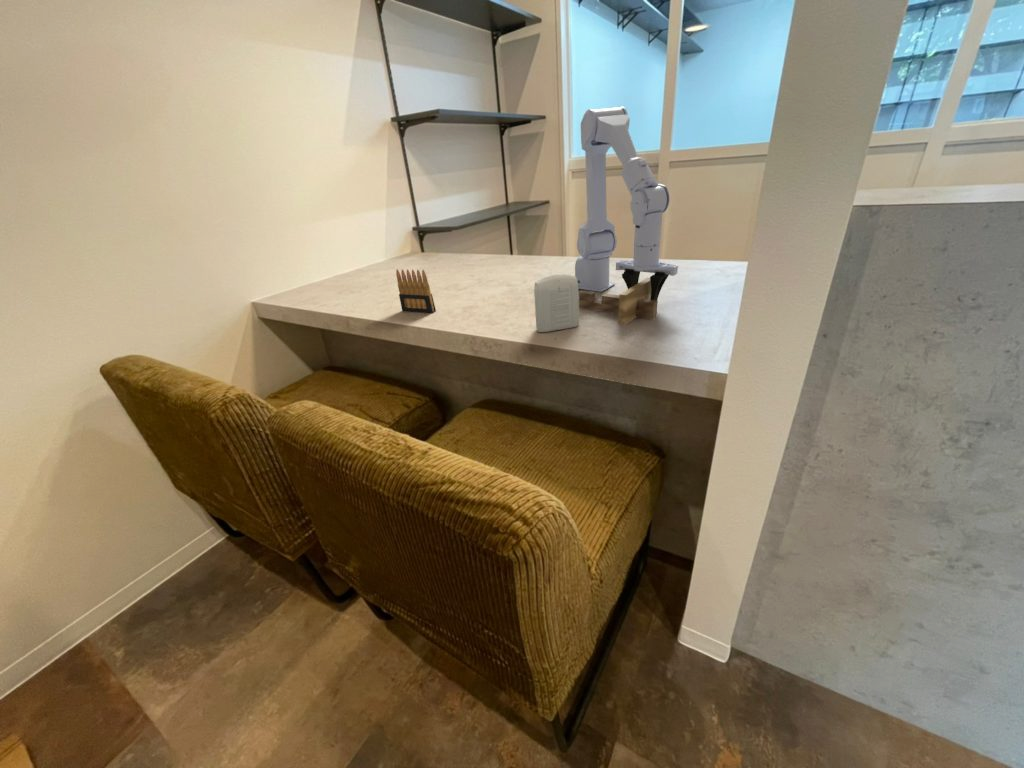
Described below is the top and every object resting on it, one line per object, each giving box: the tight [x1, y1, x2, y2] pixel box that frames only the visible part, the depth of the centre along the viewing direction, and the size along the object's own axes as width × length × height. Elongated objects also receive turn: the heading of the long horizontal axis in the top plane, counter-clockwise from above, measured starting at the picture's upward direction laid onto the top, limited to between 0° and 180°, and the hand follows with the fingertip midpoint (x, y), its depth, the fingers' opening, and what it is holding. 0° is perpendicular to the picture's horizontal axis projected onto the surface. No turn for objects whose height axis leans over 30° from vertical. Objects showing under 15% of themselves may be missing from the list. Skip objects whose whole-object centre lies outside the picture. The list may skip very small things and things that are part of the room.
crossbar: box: [617, 277, 651, 326], centre depth 98 cm, size 2×14×7 cm, turn 139°
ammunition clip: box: [395, 269, 437, 314], centre depth 116 cm, size 11×2×12 cm, turn 65°
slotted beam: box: [578, 289, 659, 321], centre depth 102 cm, size 20×2×4 cm, turn 49°
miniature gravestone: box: [533, 274, 580, 333], centre depth 95 cm, size 10×4×12 cm, turn 103°
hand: (643, 301), depth 101 cm, fingers open, 5 cm apart
